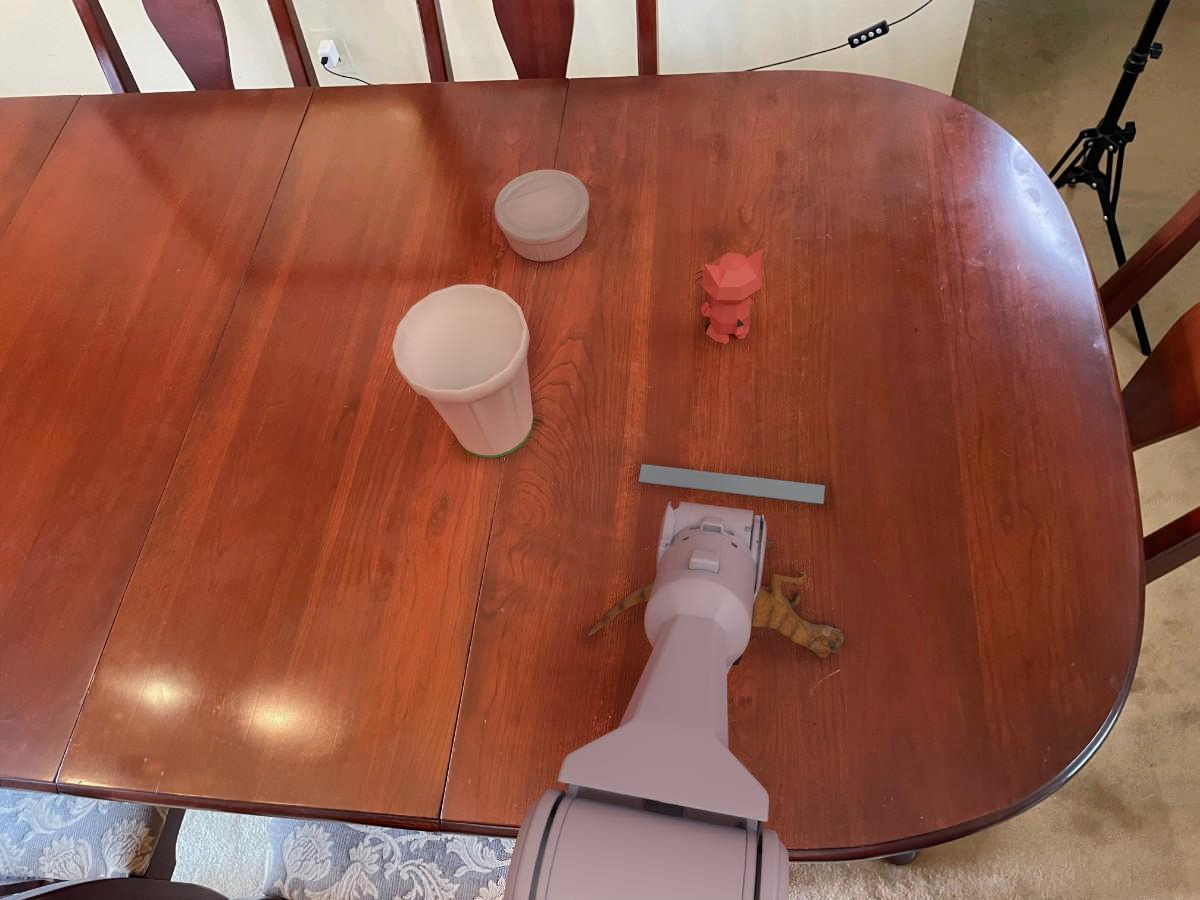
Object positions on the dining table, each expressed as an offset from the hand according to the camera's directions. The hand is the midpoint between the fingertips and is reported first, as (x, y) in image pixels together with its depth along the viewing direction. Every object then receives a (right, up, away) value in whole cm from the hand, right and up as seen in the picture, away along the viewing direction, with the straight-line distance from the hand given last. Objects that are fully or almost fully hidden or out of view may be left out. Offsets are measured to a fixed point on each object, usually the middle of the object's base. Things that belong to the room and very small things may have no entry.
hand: (708, 653), depth 73 cm
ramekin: (-16, +43, +29) cm, 55 cm away
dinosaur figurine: (+2, +4, +4) cm, 6 cm away
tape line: (+3, +14, +10) cm, 18 cm away
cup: (-21, +20, +17) cm, 33 cm away
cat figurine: (+5, +30, +19) cm, 36 cm away
